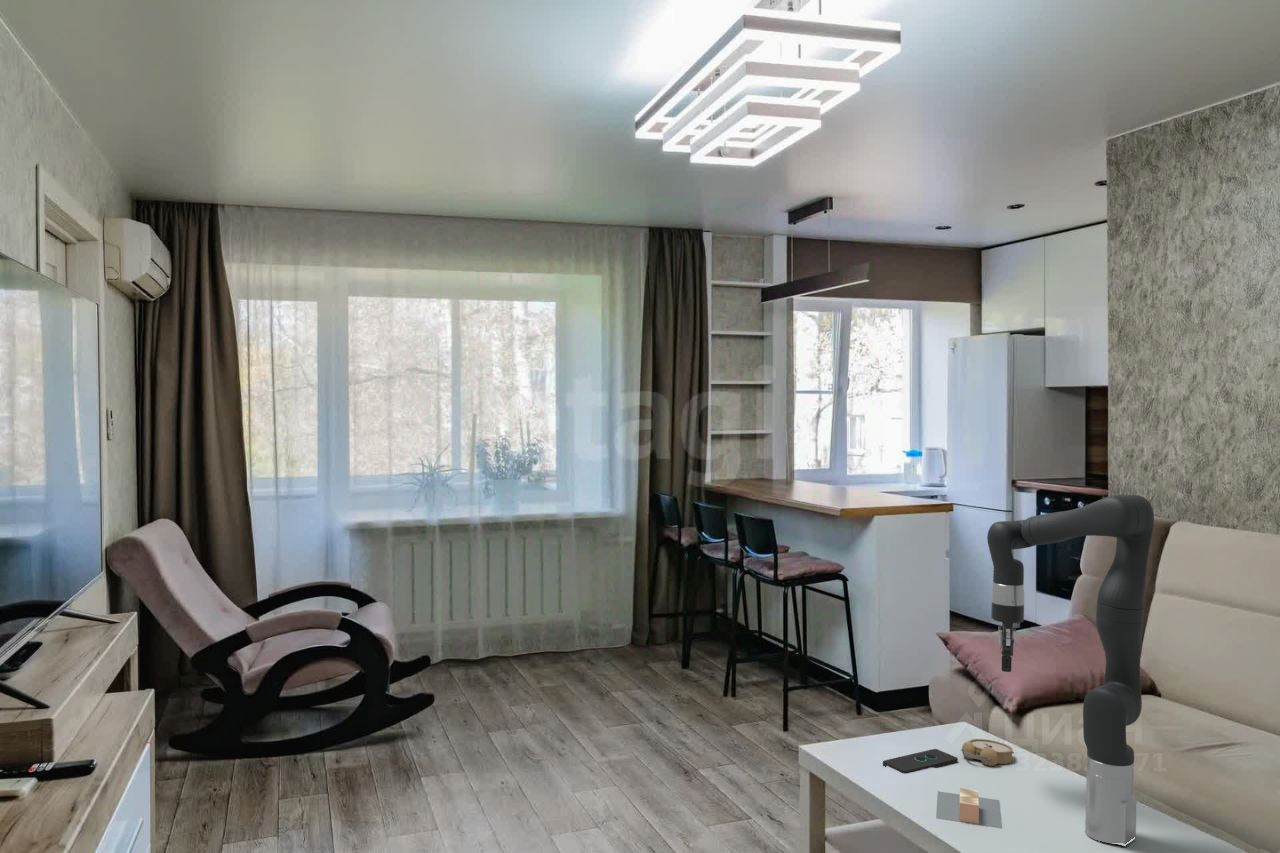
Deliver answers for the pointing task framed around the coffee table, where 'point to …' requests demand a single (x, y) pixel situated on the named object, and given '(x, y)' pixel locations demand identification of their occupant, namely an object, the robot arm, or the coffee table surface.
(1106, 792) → the robot arm
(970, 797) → the birch block
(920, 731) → the coffee table surface
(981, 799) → the rubber mat
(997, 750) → the alarm clock
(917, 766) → the smart home device
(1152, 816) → the coffee table surface
